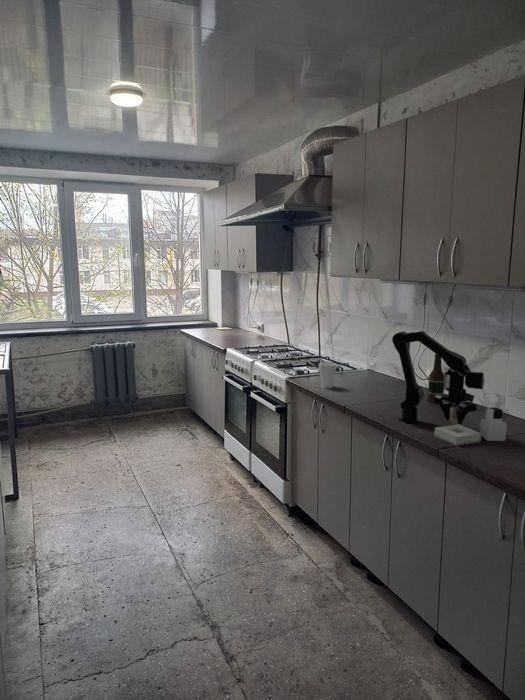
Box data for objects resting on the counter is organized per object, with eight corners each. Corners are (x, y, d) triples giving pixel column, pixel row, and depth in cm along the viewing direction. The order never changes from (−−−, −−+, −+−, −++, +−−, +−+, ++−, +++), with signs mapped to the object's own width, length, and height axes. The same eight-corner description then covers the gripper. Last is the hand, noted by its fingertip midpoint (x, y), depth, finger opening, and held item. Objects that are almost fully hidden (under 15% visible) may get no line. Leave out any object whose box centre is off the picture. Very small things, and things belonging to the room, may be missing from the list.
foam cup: (331, 384, 290) (331, 361, 288) (338, 388, 282) (339, 365, 279) (315, 385, 287) (316, 362, 285) (322, 389, 279) (323, 366, 276)
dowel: (447, 427, 214) (448, 406, 213) (453, 426, 216) (455, 406, 214) (452, 429, 212) (454, 408, 210) (459, 429, 213) (460, 408, 211)
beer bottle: (424, 401, 255) (427, 354, 251) (431, 398, 261) (434, 352, 257) (439, 404, 250) (442, 356, 246) (446, 401, 256) (449, 354, 252)
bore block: (434, 436, 204) (434, 427, 203) (458, 432, 208) (458, 424, 208) (455, 445, 193) (456, 437, 192) (480, 442, 197) (481, 433, 197)
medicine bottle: (496, 434, 206) (499, 406, 204) (505, 441, 199) (508, 411, 197) (479, 435, 205) (481, 406, 203) (487, 441, 198) (490, 411, 196)
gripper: (488, 389, 205) (485, 427, 208) (455, 379, 222) (453, 414, 225) (466, 392, 201) (464, 430, 203) (434, 381, 218) (432, 417, 221)
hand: (453, 422), depth 213 cm, fingers open, 7 cm apart
